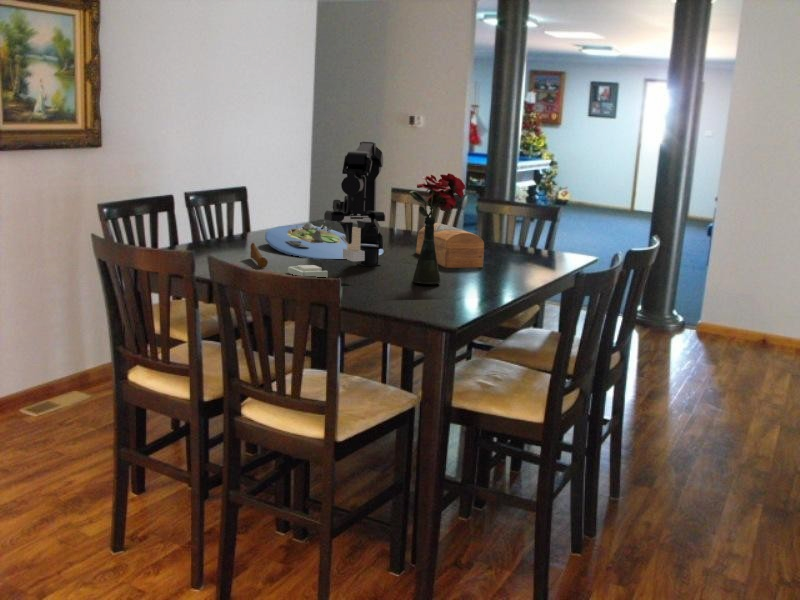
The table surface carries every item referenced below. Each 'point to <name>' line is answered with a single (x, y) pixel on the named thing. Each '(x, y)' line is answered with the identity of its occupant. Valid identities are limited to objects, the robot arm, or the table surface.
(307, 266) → the tile
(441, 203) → the carnation
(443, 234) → the wooden box
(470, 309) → the table surface
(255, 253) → the primitive tool
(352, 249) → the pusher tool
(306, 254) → the serving platter
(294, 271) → the bay
